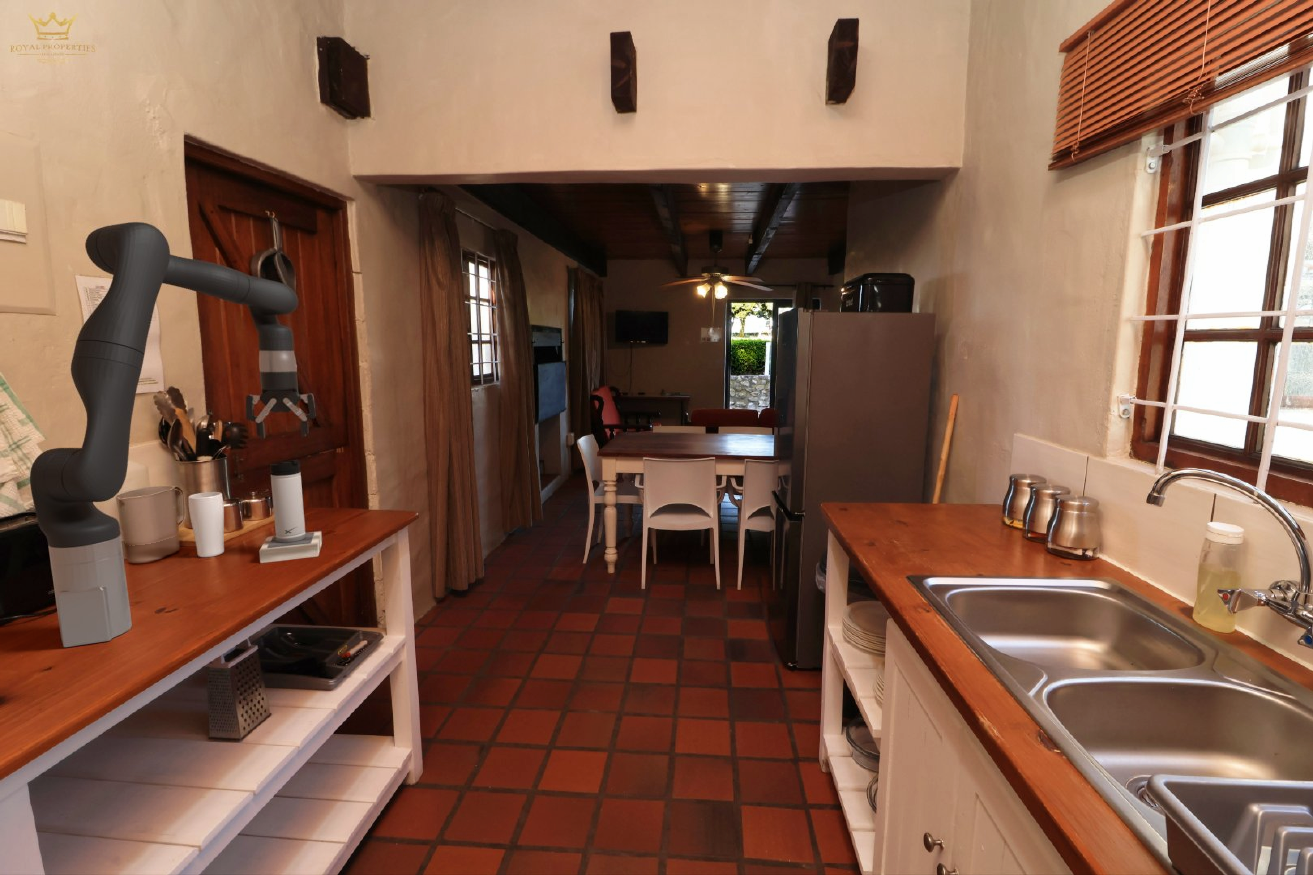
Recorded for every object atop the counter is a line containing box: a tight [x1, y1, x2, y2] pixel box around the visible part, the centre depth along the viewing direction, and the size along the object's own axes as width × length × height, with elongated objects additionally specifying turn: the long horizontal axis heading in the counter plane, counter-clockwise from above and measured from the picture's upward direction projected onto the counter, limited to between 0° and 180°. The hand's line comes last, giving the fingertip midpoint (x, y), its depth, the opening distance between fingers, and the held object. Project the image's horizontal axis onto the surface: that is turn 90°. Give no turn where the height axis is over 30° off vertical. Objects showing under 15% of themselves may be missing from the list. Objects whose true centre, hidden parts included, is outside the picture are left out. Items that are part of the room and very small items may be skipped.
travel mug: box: [269, 459, 306, 543], centre depth 150 cm, size 6×7×20 cm
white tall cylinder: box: [187, 491, 225, 558], centre depth 149 cm, size 7×7×15 cm
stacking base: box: [258, 530, 323, 564], centre depth 152 cm, size 12×12×3 cm
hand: (283, 437), depth 148 cm, fingers open, 8 cm apart
